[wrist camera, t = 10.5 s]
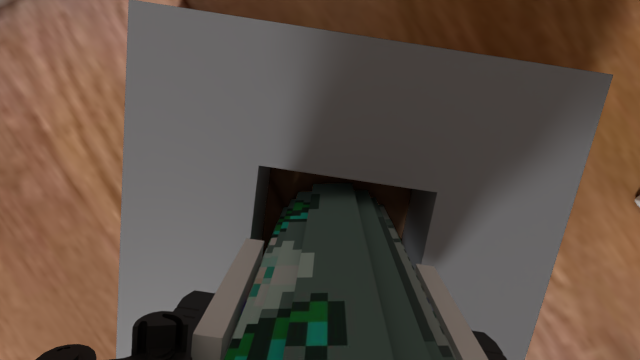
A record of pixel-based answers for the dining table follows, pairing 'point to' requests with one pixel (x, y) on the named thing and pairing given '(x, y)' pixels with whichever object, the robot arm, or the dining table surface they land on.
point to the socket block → (345, 155)
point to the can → (337, 287)
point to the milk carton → (638, 201)
